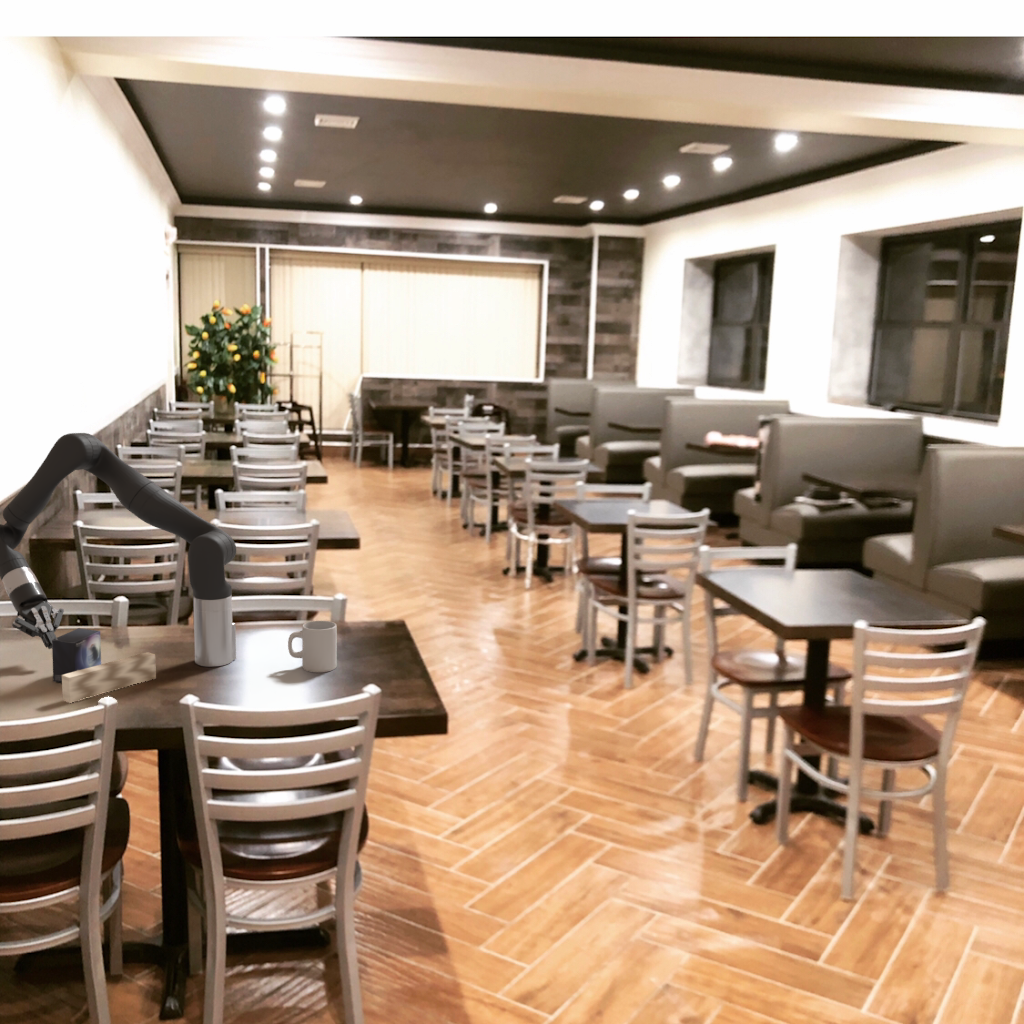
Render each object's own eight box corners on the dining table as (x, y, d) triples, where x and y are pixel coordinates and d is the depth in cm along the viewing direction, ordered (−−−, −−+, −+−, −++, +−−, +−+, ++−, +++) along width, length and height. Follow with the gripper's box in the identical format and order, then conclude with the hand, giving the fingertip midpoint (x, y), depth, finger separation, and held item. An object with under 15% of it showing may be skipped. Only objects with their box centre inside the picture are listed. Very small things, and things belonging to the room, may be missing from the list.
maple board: (148, 675, 243) (147, 651, 242) (156, 678, 242) (155, 654, 241) (62, 700, 226) (61, 674, 225) (70, 703, 224) (69, 677, 223)
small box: (76, 685, 236) (74, 642, 234) (51, 682, 237) (49, 639, 235) (103, 671, 246) (101, 629, 244) (79, 668, 247) (77, 627, 245)
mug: (336, 661, 259) (336, 620, 257) (337, 672, 250) (337, 629, 249) (288, 662, 256) (288, 621, 254) (287, 673, 248) (287, 630, 246)
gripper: (2, 586, 244) (32, 644, 239) (54, 576, 255) (84, 632, 250) (-8, 603, 248) (22, 661, 243) (44, 593, 259) (73, 648, 254)
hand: (53, 646), depth 247 cm, fingers closed
